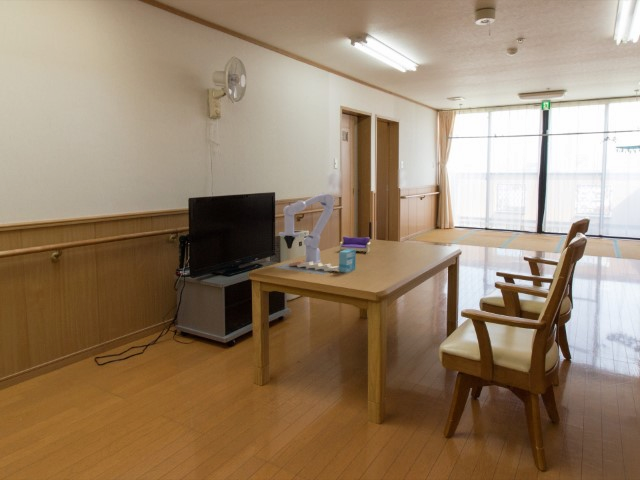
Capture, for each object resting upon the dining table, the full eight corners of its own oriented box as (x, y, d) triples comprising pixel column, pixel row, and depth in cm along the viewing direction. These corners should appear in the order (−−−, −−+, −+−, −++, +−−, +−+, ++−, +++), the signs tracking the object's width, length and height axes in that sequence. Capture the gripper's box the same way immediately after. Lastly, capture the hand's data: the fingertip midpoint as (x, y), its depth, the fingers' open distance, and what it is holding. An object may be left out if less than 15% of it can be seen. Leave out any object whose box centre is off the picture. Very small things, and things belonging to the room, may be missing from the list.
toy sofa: (338, 251, 320) (338, 237, 319) (342, 249, 329) (342, 235, 327) (368, 253, 314) (368, 239, 312) (370, 251, 322) (371, 237, 320)
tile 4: (318, 265, 264) (330, 263, 260) (319, 268, 264) (331, 266, 260) (314, 267, 261) (327, 264, 256) (315, 269, 261) (327, 267, 256)
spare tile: (292, 262, 274) (304, 260, 269) (293, 265, 274) (304, 262, 269) (288, 263, 270) (300, 261, 265) (289, 266, 270) (300, 264, 265)
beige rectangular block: (301, 263, 270) (312, 261, 266) (301, 266, 270) (313, 264, 266) (297, 264, 267) (308, 262, 262) (297, 267, 267) (309, 265, 262)
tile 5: (327, 266, 261) (340, 266, 257) (328, 269, 261) (340, 268, 257) (323, 268, 257) (336, 267, 253) (324, 271, 258) (337, 270, 253)
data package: (345, 273, 253) (346, 252, 251) (338, 272, 255) (338, 251, 253) (355, 269, 263) (355, 249, 261) (348, 268, 266) (348, 248, 264)
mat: (289, 263, 281) (289, 262, 281) (338, 269, 263) (338, 268, 263) (273, 268, 266) (273, 267, 266) (323, 275, 249) (323, 274, 249)
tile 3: (310, 264, 267) (321, 262, 263) (310, 267, 267) (322, 265, 263) (305, 266, 264) (317, 263, 259) (306, 268, 264) (318, 266, 259)
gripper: (275, 225, 274) (275, 248, 276) (295, 227, 266) (295, 250, 269) (282, 224, 280) (282, 246, 282) (302, 226, 272) (302, 248, 275)
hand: (289, 248), depth 276 cm, fingers closed
